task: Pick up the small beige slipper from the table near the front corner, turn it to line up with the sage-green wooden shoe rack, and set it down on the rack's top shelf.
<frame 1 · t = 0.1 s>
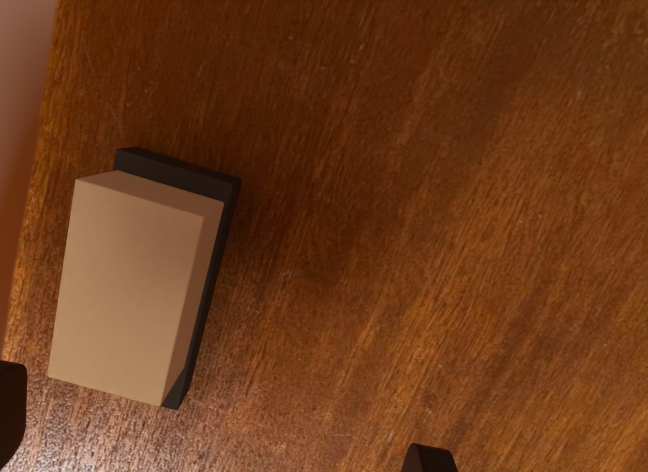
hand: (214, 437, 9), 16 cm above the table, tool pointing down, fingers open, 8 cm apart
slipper: (163, 278, 25), on the table
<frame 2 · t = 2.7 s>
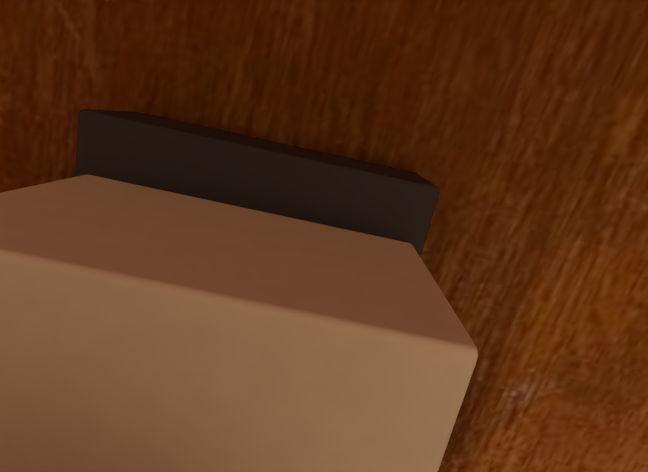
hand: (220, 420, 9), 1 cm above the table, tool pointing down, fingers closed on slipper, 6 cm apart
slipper: (228, 421, 11), on the table, touching gripper
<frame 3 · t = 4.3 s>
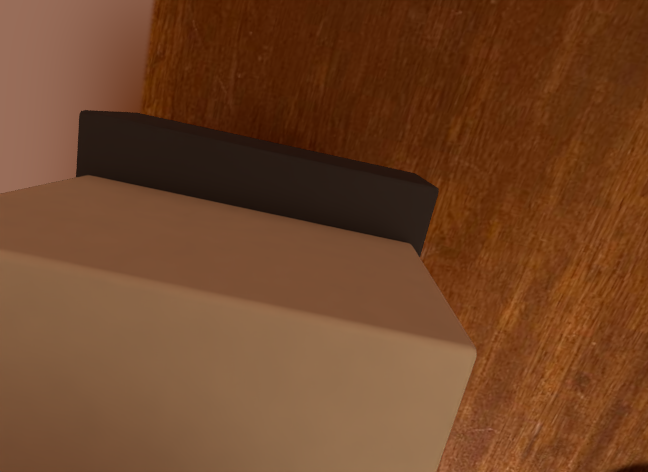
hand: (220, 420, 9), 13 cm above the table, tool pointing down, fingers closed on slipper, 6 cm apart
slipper: (228, 420, 11), point 12 cm above the table, touching gripper
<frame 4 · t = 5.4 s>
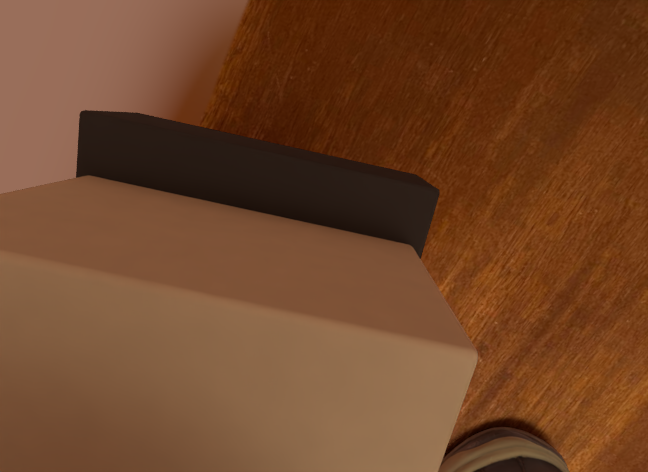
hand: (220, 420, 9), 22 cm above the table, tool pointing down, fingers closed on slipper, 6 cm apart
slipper: (227, 421, 11), point 20 cm above the table, touching gripper
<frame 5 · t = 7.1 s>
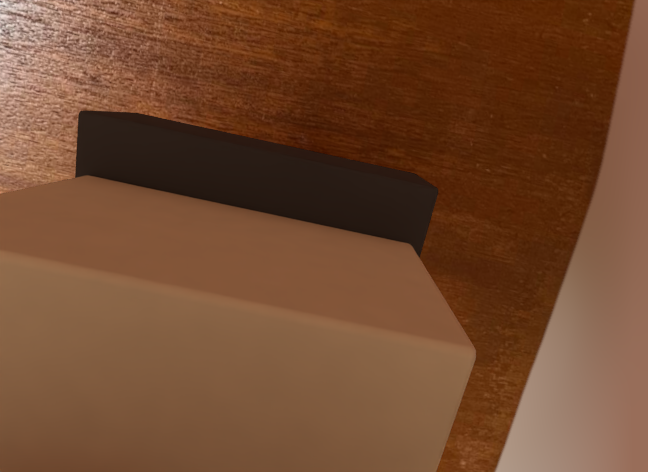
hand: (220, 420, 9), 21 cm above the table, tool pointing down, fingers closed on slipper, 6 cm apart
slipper: (228, 421, 11), point 20 cm above the table, touching gripper
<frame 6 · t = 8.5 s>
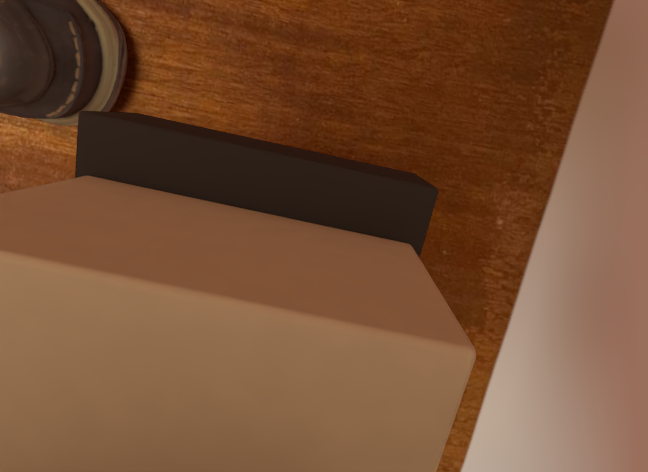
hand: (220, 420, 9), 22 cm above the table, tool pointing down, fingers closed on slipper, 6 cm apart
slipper: (227, 421, 11), point 21 cm above the table, touching gripper
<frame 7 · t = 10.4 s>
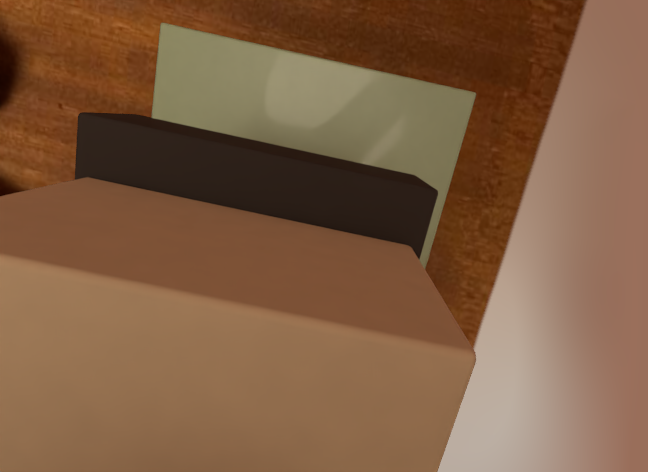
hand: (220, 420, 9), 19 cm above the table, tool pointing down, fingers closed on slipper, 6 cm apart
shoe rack: (294, 239, 28), on the table
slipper: (227, 422, 11), point 18 cm above the table, touching gripper
when the fingers open (11 cm above the table, at t = 12.7 s): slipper stays where it is, resting on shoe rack.
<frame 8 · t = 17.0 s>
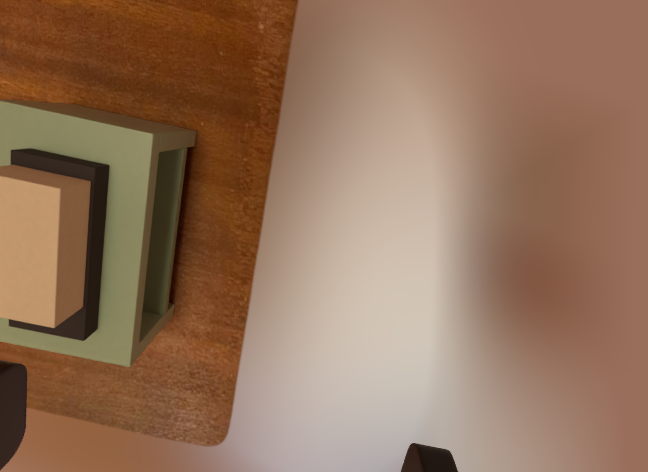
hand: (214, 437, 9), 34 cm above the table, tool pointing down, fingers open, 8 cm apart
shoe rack: (126, 216, 43), on the table
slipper: (65, 244, 33), point 10 cm above the table, touching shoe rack
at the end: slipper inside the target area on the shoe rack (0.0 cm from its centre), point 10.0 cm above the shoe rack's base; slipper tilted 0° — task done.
